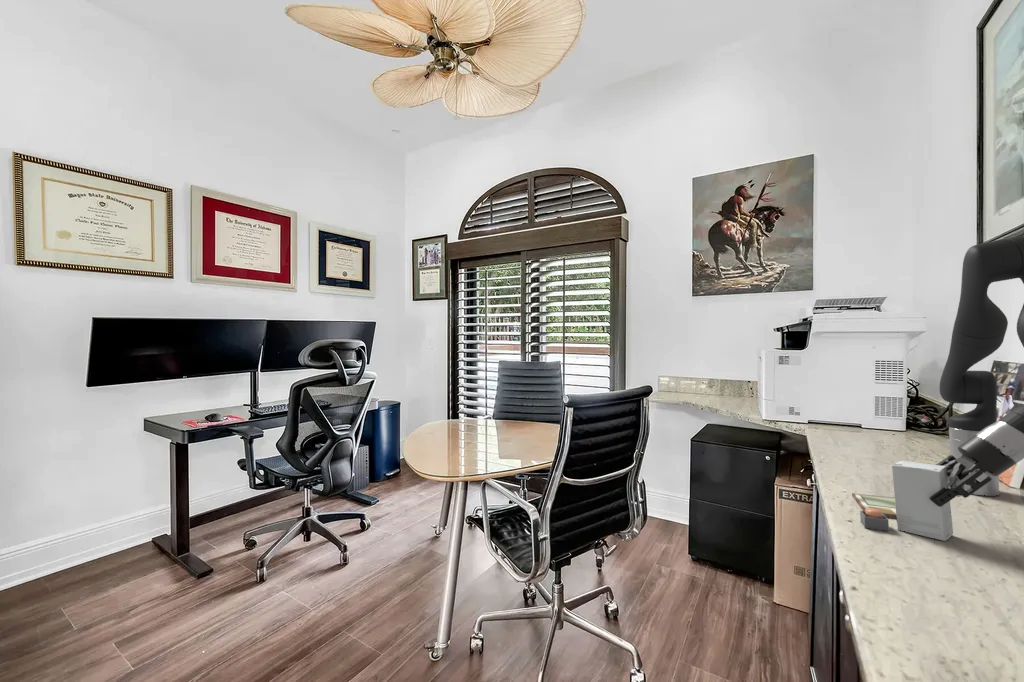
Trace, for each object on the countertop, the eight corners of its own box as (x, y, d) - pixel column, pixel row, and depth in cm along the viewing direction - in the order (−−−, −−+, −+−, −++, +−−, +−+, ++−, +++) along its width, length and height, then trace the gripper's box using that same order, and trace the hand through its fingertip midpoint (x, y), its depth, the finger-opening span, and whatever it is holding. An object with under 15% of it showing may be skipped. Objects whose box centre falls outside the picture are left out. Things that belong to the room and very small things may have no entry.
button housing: (860, 521, 104) (860, 510, 104) (883, 524, 102) (882, 513, 102) (865, 528, 100) (864, 516, 100) (888, 531, 98) (888, 519, 98)
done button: (864, 514, 103) (863, 507, 103) (880, 516, 102) (880, 509, 102) (867, 518, 101) (867, 511, 101) (884, 520, 99) (883, 513, 99)
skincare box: (953, 535, 95) (950, 466, 96) (945, 543, 92) (942, 471, 92) (903, 523, 102) (900, 458, 103) (894, 529, 99) (891, 462, 99)
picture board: (852, 496, 121) (852, 492, 121) (914, 502, 115) (914, 499, 115) (866, 515, 108) (865, 511, 108) (937, 523, 102) (936, 519, 102)
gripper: (962, 428, 99) (899, 474, 104) (996, 440, 87) (921, 492, 92) (996, 454, 97) (929, 500, 102) (1036, 470, 84) (957, 522, 89)
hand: (926, 496), depth 97 cm, fingers open, 8 cm apart
